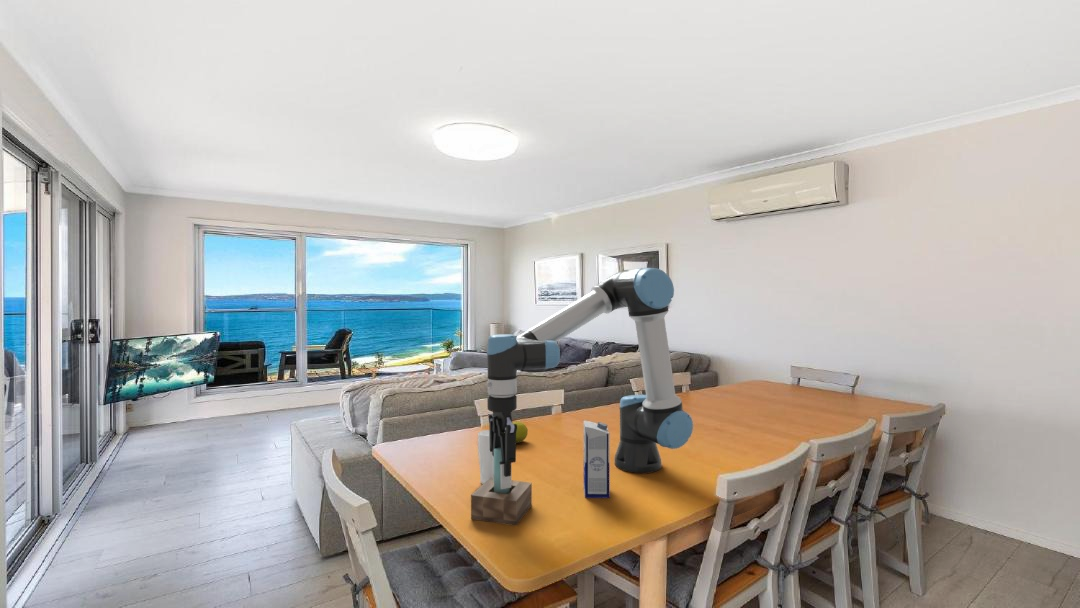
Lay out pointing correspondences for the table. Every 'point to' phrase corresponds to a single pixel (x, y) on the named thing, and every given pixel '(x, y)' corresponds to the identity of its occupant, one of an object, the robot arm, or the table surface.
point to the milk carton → (596, 460)
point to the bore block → (501, 503)
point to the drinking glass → (485, 456)
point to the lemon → (520, 431)
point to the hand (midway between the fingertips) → (502, 484)
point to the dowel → (498, 472)
